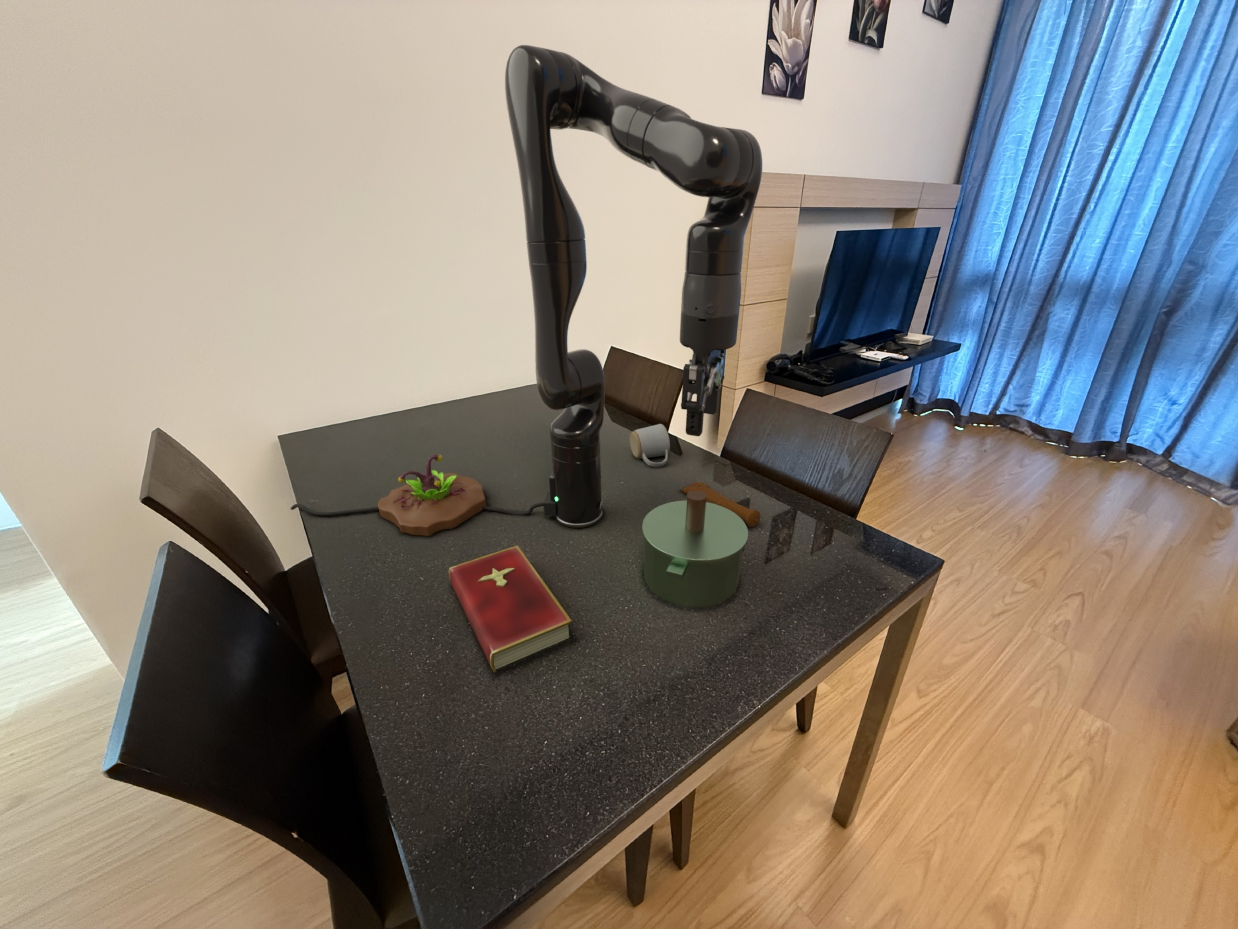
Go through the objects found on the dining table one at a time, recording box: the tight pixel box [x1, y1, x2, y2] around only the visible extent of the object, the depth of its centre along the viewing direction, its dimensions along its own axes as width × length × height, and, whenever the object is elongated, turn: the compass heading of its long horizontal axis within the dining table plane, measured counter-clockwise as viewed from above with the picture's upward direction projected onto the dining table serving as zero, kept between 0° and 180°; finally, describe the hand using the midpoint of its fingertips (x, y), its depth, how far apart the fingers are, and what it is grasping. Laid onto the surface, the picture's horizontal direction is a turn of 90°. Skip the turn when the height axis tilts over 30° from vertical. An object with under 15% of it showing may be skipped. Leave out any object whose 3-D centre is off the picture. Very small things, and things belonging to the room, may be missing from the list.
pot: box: [643, 539, 744, 608], centre depth 87 cm, size 16×21×10 cm
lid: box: [641, 491, 749, 563], centre depth 83 cm, size 17×17×7 cm
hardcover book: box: [448, 545, 573, 673], centre depth 81 cm, size 12×21×4 cm, turn 31°
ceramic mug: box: [629, 423, 671, 468], centre depth 127 cm, size 11×8×8 cm
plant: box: [377, 453, 487, 537], centre depth 107 cm, size 20×20×11 cm
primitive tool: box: [681, 481, 762, 528], centre depth 108 cm, size 19×6×4 cm, turn 37°
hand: (701, 423), depth 76 cm, fingers open, 8 cm apart
